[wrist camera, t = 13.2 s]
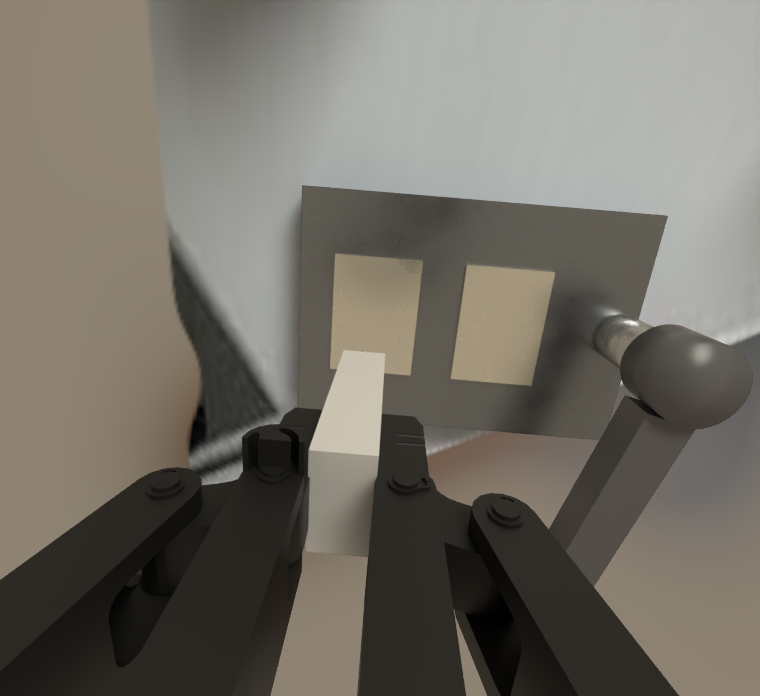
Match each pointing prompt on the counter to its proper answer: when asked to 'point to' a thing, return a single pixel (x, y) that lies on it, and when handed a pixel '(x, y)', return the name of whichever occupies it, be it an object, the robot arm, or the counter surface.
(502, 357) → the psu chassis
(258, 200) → the counter surface
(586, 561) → the lever
